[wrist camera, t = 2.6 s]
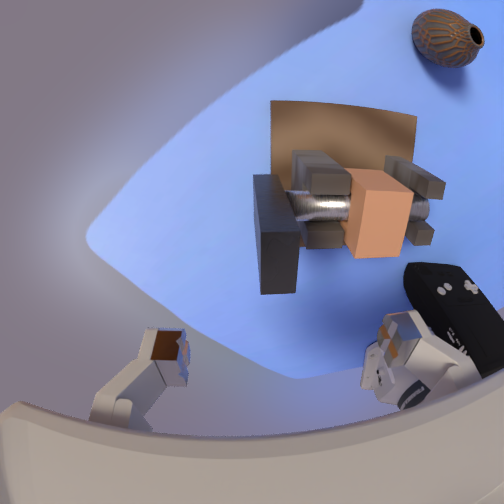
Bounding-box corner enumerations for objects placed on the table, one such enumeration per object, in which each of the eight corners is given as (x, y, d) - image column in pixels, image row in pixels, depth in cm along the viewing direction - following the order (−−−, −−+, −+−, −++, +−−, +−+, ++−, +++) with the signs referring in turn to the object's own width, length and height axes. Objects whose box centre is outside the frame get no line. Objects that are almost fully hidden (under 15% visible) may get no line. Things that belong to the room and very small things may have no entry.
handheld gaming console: (460, 262, 36) (529, 352, 19) (449, 285, 38) (509, 375, 21) (407, 257, 35) (483, 371, 18) (395, 284, 37) (458, 397, 20)
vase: (391, 32, 20) (439, 20, 12) (420, 5, 17) (467, -8, 9) (430, 78, 22) (481, 83, 15) (456, 49, 19) (505, 50, 12)
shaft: (407, 217, 25) (464, 277, 16) (253, 218, 24) (260, 294, 16) (415, 180, 23) (482, 230, 14) (253, 174, 22) (260, 232, 14)
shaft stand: (392, 239, 33) (428, 285, 25) (270, 243, 33) (279, 297, 25) (412, 115, 25) (467, 131, 17) (270, 100, 24) (284, 103, 16)
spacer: (373, 225, 25) (398, 256, 20) (334, 225, 25) (354, 258, 20) (382, 170, 22) (413, 192, 17) (340, 167, 22) (366, 190, 17)
